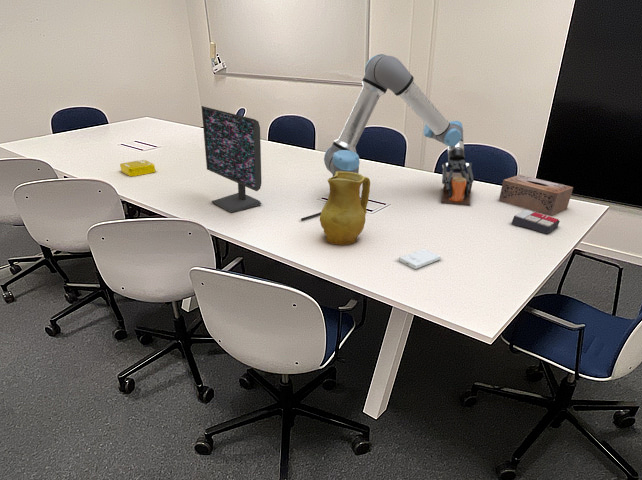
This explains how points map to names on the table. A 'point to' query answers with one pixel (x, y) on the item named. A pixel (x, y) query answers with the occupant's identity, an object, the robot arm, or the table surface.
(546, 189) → the tissue box cover
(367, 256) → the table surface
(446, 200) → the brown wooden step stand
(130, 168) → the element tile
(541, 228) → the grey and red box
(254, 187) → the computer monitor
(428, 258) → the hard drive
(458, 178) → the canister
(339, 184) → the pitcher
